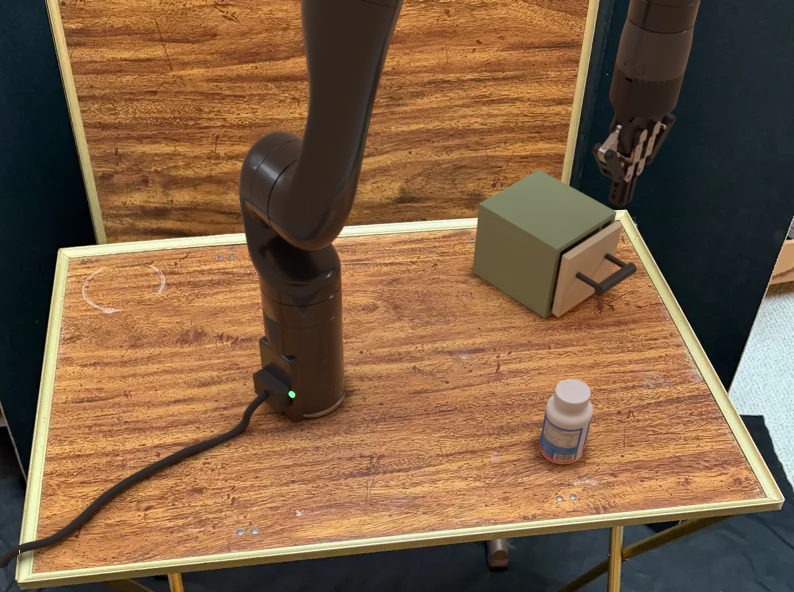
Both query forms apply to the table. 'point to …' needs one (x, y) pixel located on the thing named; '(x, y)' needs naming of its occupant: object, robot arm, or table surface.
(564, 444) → the pill bottle
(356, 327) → the table surface
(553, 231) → the cabinet
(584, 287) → the drawer
